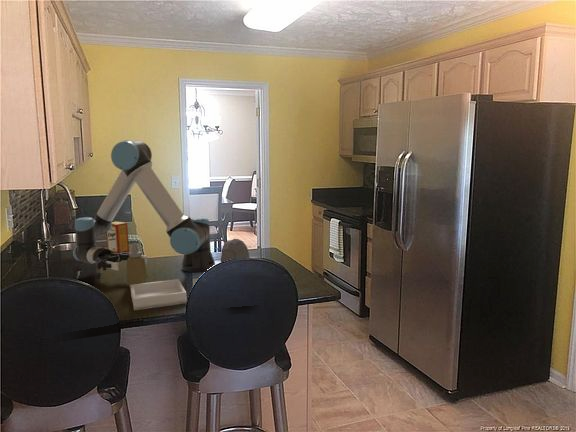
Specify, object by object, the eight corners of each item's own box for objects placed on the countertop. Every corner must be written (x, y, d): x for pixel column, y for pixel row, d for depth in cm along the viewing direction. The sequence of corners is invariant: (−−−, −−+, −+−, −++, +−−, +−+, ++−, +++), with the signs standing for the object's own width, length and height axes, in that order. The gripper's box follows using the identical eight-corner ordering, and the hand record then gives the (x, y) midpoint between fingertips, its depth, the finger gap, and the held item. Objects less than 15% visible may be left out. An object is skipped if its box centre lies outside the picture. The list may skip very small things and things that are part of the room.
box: (179, 288, 181) (178, 279, 180) (187, 303, 164) (186, 292, 164) (131, 295, 174) (130, 284, 174) (134, 310, 158) (133, 299, 157)
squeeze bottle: (152, 287, 184) (149, 242, 181) (133, 291, 178) (130, 246, 175) (141, 283, 189) (138, 240, 187) (123, 287, 184) (119, 243, 181)
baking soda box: (107, 251, 247) (105, 222, 245) (117, 249, 252) (115, 220, 250) (118, 254, 242) (116, 224, 239) (129, 251, 247) (127, 222, 245)
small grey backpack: (237, 282, 188) (236, 234, 185) (256, 284, 185) (254, 235, 182) (218, 293, 174) (216, 242, 171) (237, 296, 171) (236, 243, 168)
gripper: (126, 258, 205) (157, 265, 194) (73, 272, 185) (105, 280, 173) (125, 242, 204) (156, 247, 192) (71, 253, 184) (103, 260, 172)
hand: (132, 263), depth 183 cm, fingers open, 13 cm apart
